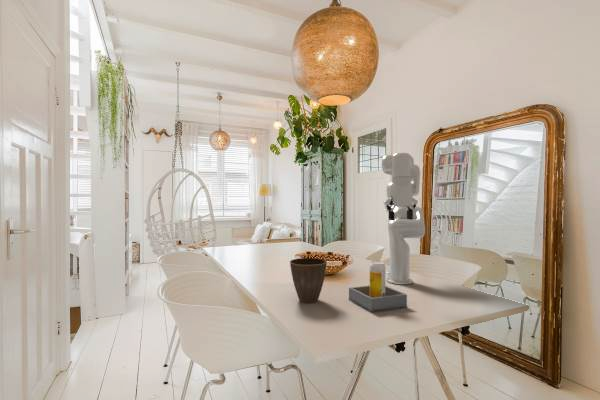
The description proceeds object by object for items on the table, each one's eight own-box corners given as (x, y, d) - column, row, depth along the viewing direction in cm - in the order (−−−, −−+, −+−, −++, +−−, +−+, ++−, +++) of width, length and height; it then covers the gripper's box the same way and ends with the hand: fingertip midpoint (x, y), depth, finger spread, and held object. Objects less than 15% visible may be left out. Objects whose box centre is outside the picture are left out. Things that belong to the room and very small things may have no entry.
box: (348, 299, 131) (348, 287, 131) (381, 295, 136) (381, 284, 136) (371, 312, 116) (371, 298, 116) (406, 307, 122) (406, 294, 122)
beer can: (373, 297, 130) (374, 261, 131) (387, 300, 127) (388, 262, 127) (366, 301, 126) (366, 263, 126) (381, 304, 122) (381, 265, 122)
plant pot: (304, 309, 119) (304, 266, 119) (282, 299, 131) (282, 260, 131) (334, 302, 128) (334, 262, 128) (311, 293, 140) (311, 256, 140)
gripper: (411, 181, 148) (411, 218, 148) (379, 181, 142) (379, 219, 142) (422, 181, 140) (422, 219, 141) (389, 180, 135) (389, 221, 135)
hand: (400, 219), depth 142 cm, fingers open, 9 cm apart
